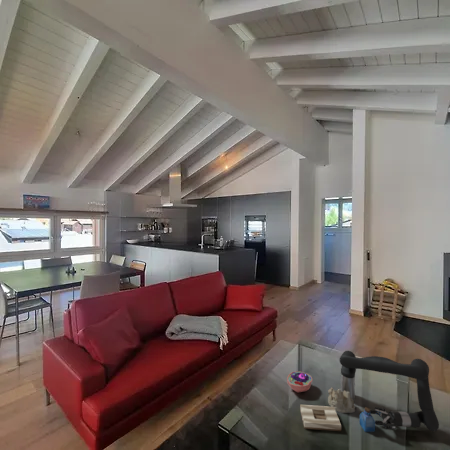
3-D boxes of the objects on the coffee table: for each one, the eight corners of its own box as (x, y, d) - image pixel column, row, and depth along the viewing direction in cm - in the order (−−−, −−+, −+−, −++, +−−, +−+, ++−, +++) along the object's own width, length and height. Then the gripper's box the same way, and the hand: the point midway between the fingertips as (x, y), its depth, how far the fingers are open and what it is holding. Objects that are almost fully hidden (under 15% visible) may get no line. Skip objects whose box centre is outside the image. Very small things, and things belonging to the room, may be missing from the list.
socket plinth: (300, 410, 179) (300, 404, 179) (333, 412, 177) (333, 406, 177) (304, 428, 165) (304, 422, 164) (341, 431, 162) (341, 425, 162)
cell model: (281, 386, 204) (281, 371, 203) (302, 378, 212) (302, 365, 212) (296, 400, 189) (296, 385, 188) (317, 391, 197) (317, 377, 196)
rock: (357, 413, 175) (356, 391, 175) (331, 412, 177) (330, 390, 177) (349, 398, 191) (348, 377, 191) (325, 397, 193) (324, 377, 193)
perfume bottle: (369, 423, 168) (369, 405, 167) (374, 431, 162) (375, 412, 161) (359, 423, 168) (359, 405, 167) (365, 431, 161) (365, 413, 161)
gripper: (394, 404, 169) (367, 402, 171) (406, 422, 155) (377, 420, 157) (393, 415, 170) (367, 413, 171) (406, 434, 155) (377, 432, 157)
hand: (372, 417), depth 164 cm, fingers open, 8 cm apart
